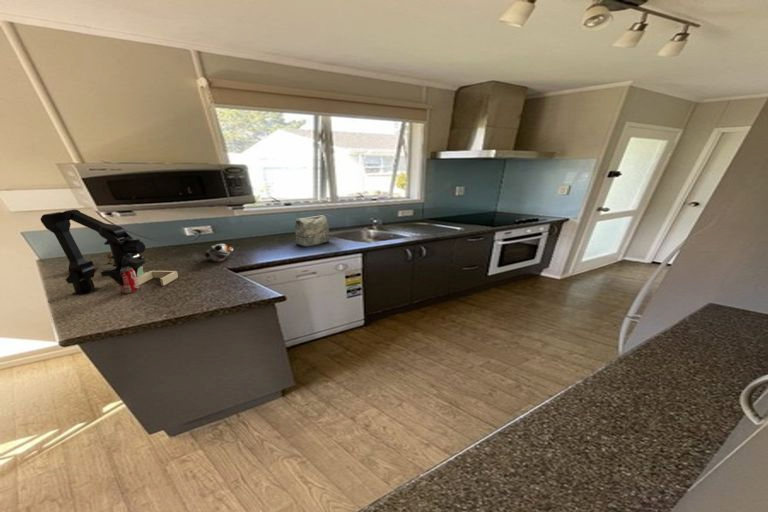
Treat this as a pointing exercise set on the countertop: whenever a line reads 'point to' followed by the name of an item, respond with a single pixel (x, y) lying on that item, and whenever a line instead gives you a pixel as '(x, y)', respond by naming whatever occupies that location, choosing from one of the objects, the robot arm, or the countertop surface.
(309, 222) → the lunch bag
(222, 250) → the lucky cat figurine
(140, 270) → the coffee maker
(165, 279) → the tray
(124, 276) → the soda can
